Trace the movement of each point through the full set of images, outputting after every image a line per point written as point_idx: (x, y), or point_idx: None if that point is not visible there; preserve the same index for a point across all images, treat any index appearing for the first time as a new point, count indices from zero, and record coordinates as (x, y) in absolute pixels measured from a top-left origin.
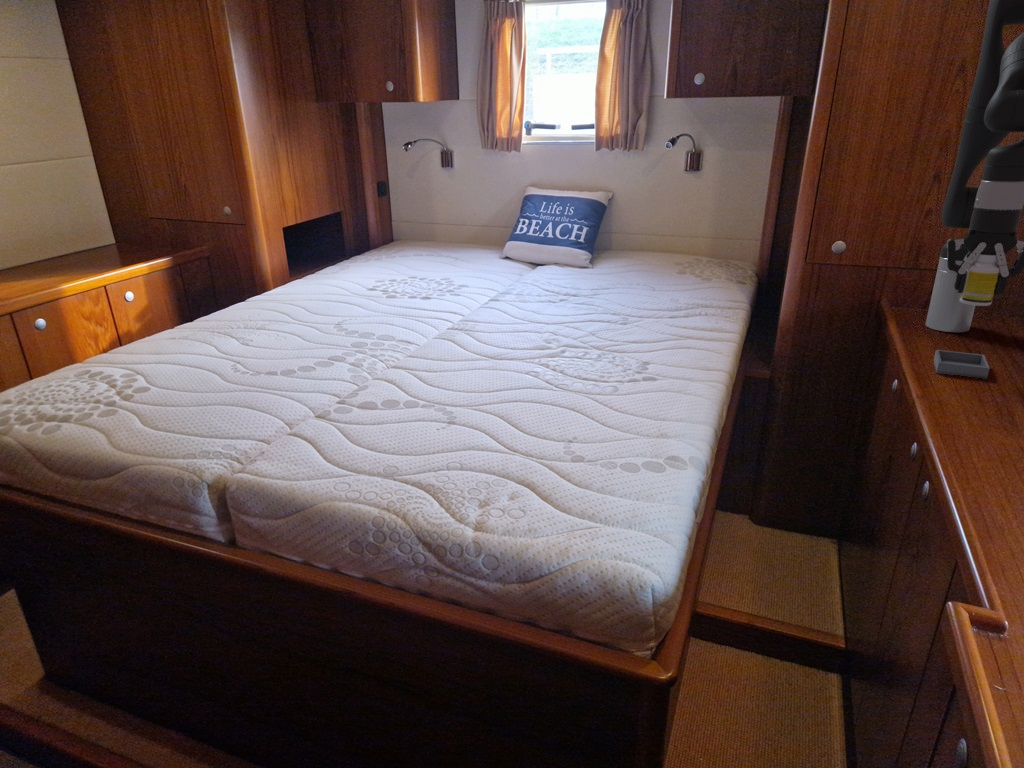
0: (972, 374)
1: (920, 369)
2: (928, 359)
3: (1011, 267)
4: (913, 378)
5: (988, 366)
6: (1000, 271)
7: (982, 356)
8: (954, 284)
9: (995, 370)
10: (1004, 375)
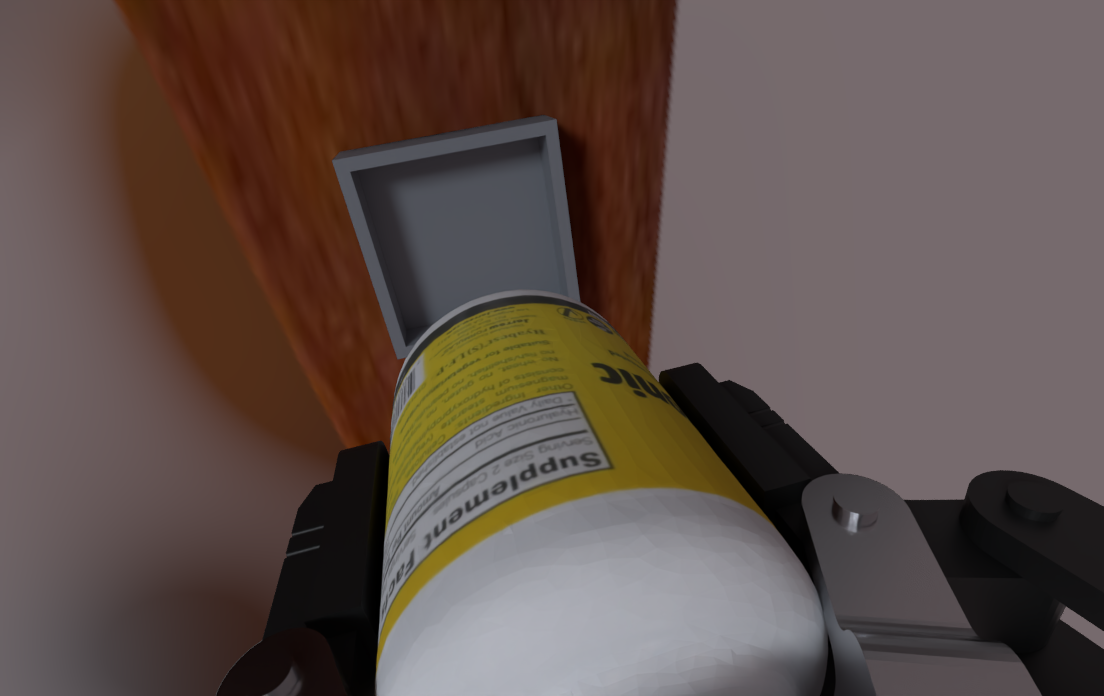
0: None
1: (332, 320)
2: (314, 147)
3: (985, 591)
4: (344, 433)
5: (577, 296)
6: None
7: (550, 154)
8: (299, 528)
9: (597, 152)
10: (626, 204)
